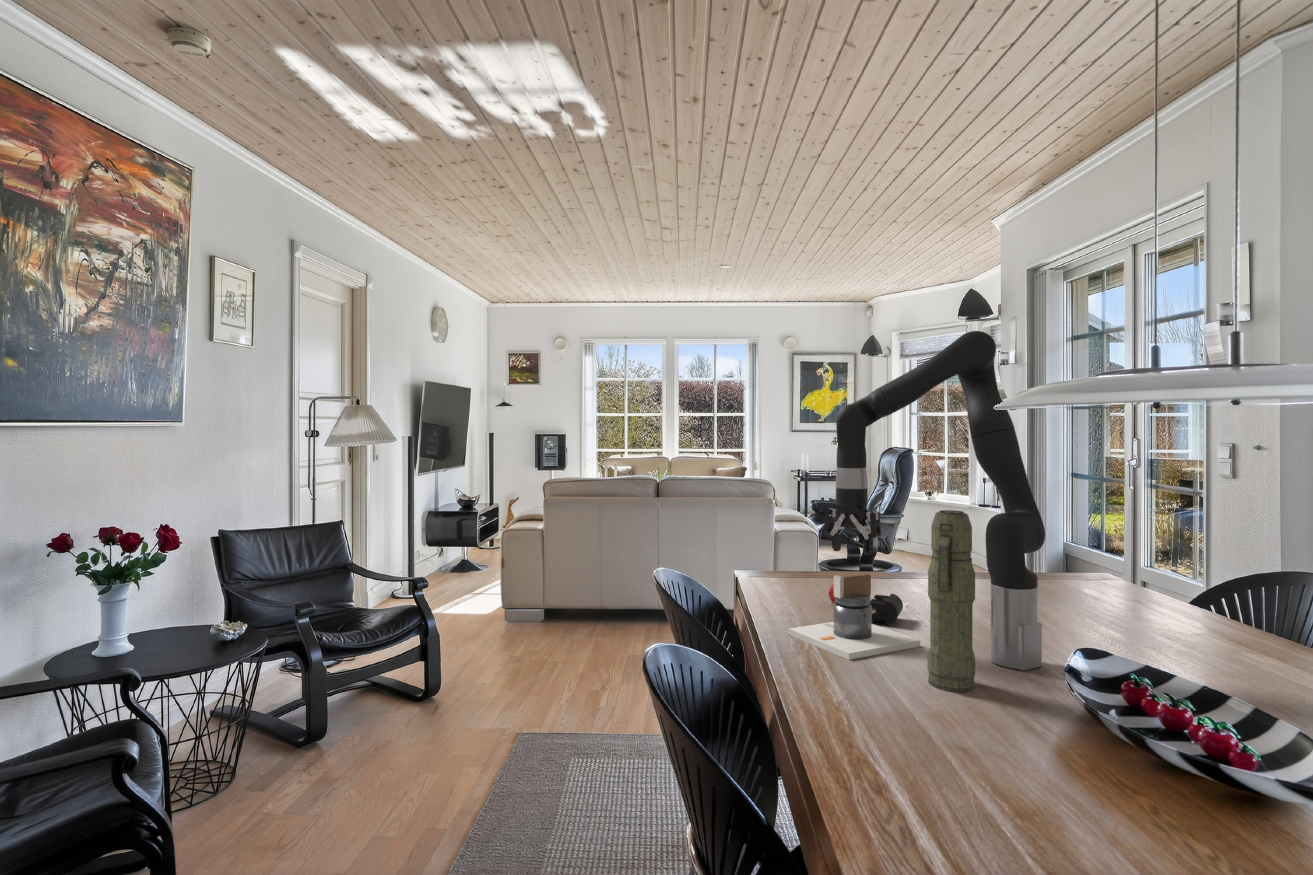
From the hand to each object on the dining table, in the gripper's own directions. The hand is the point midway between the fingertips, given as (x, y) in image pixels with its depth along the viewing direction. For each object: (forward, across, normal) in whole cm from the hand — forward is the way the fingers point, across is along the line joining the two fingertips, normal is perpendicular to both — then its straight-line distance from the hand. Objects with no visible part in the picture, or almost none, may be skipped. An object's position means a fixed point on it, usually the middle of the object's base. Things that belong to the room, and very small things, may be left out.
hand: (852, 552), depth 173 cm
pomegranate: (+22, +20, -29) cm, 41 cm away
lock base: (+22, 0, 0) cm, 22 cm away
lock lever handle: (+13, 0, 0) cm, 13 cm away
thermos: (+22, -30, +11) cm, 39 cm away
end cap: (+22, +4, -22) cm, 31 cm away
